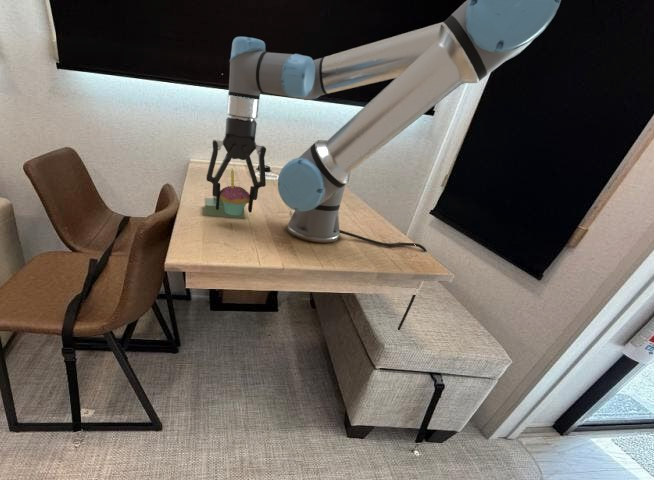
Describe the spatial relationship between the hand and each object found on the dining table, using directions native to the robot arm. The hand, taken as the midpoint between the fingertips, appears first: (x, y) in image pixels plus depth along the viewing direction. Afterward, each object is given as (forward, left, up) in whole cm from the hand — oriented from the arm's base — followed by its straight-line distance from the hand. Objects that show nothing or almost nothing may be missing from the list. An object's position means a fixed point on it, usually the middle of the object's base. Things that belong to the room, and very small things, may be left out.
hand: (233, 209), depth 92 cm
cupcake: (0, 0, -1) cm, 1 cm away
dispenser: (+2, -12, -5) cm, 13 cm away
